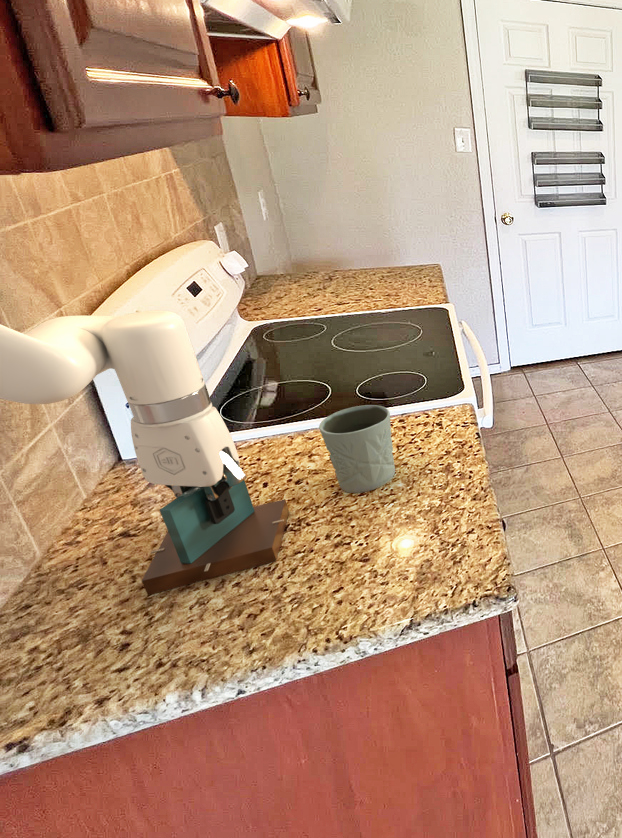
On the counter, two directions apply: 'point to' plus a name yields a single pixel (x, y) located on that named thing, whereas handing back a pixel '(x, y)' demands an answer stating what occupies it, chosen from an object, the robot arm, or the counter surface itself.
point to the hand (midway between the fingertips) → (213, 516)
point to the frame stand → (222, 551)
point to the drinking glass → (360, 447)
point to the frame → (202, 520)
